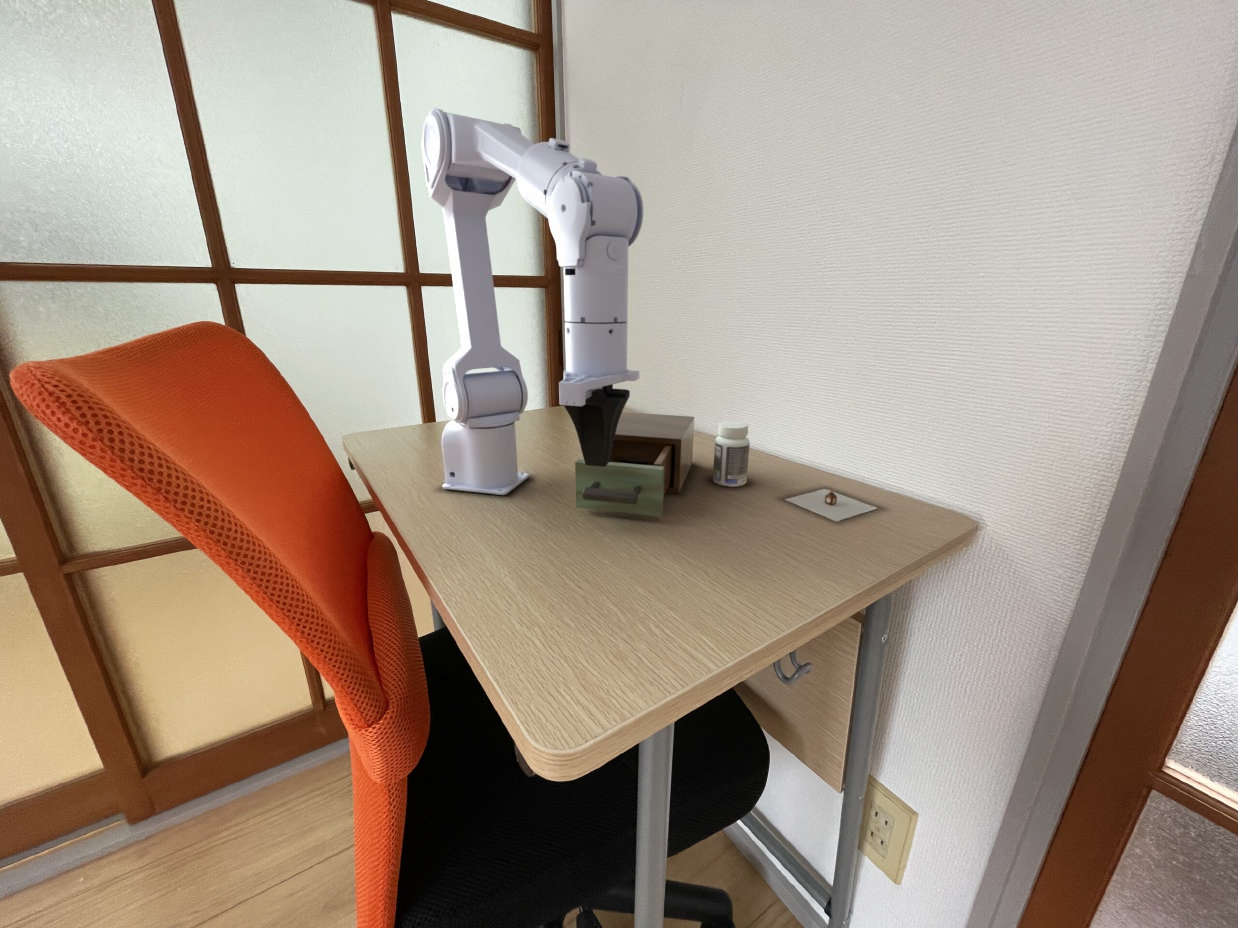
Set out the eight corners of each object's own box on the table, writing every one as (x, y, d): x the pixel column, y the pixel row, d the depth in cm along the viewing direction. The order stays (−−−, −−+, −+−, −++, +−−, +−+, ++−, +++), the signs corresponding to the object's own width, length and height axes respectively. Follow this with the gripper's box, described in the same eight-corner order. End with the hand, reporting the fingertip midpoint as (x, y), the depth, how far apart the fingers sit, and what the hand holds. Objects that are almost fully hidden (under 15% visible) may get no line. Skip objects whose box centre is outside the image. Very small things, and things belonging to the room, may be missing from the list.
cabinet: (679, 494, 70) (681, 439, 68) (596, 485, 73) (595, 432, 71) (692, 463, 83) (694, 416, 81) (620, 457, 86) (621, 411, 83)
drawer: (654, 531, 57) (655, 481, 56) (564, 520, 60) (563, 472, 58) (677, 481, 72) (679, 441, 71) (604, 474, 75) (604, 435, 73)
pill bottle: (751, 480, 76) (756, 423, 73) (739, 489, 72) (744, 430, 69) (720, 474, 78) (723, 418, 76) (707, 483, 74) (710, 425, 72)
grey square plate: (878, 508, 66) (880, 494, 66) (836, 521, 62) (838, 506, 62) (824, 488, 73) (826, 475, 72) (784, 499, 69) (785, 486, 68)
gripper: (618, 327, 40) (617, 493, 45) (654, 319, 54) (651, 447, 58) (532, 325, 42) (539, 485, 46) (588, 318, 55) (590, 442, 60)
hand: (597, 464), depth 52 cm, fingers closed
